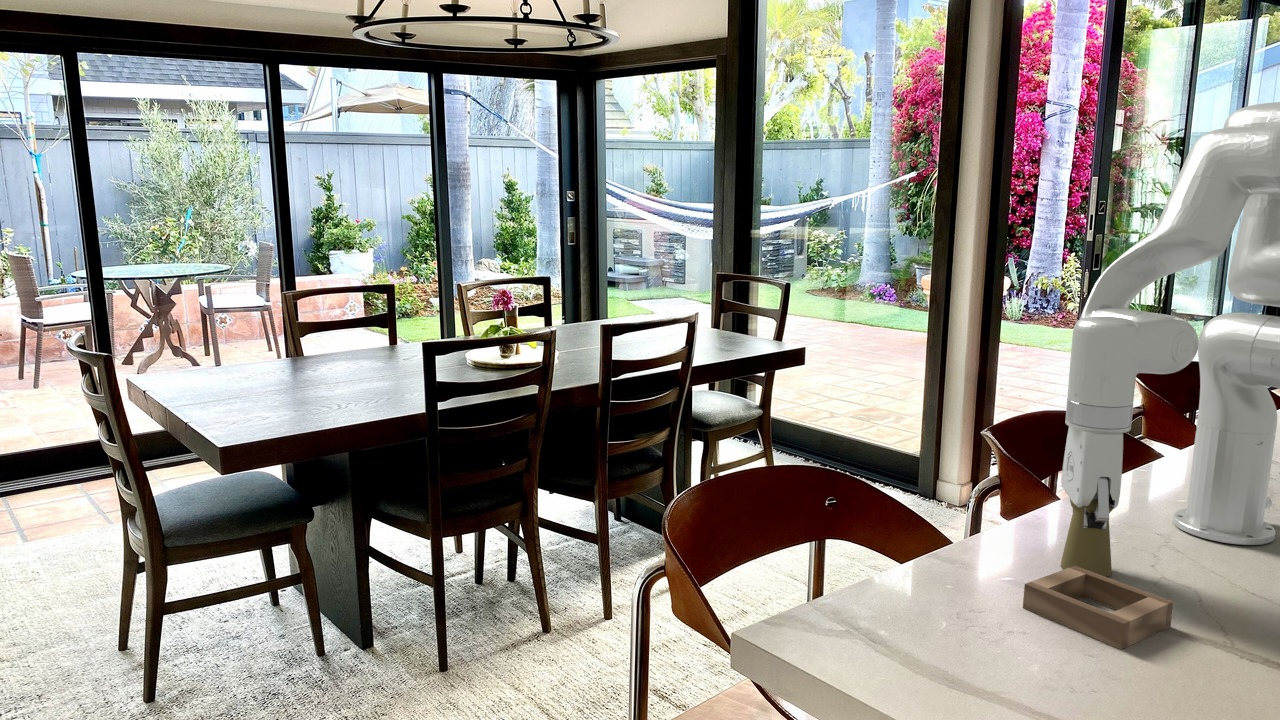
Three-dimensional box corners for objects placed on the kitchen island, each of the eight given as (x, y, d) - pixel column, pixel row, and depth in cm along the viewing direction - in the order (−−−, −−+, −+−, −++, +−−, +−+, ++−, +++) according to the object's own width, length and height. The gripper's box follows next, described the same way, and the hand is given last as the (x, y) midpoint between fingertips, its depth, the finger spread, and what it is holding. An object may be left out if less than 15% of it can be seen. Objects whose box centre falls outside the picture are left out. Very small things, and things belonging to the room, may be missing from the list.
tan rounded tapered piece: (1117, 579, 118) (1125, 495, 116) (1066, 575, 119) (1073, 492, 118) (1104, 561, 124) (1112, 481, 122) (1056, 557, 125) (1062, 478, 123)
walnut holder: (1072, 588, 116) (1074, 565, 116) (1170, 626, 106) (1173, 601, 106) (1022, 607, 111) (1024, 583, 110) (1121, 649, 101) (1124, 623, 100)
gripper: (1053, 398, 127) (1042, 527, 131) (1082, 429, 112) (1069, 574, 115) (1112, 401, 126) (1100, 531, 129) (1151, 433, 110) (1136, 579, 114)
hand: (1086, 550), depth 122 cm, fingers closed on tan rounded tapered piece, 2 cm apart
